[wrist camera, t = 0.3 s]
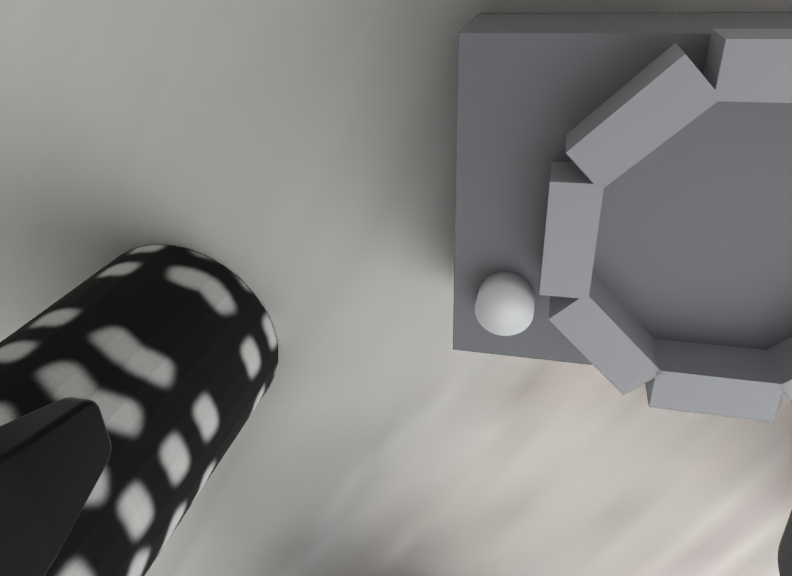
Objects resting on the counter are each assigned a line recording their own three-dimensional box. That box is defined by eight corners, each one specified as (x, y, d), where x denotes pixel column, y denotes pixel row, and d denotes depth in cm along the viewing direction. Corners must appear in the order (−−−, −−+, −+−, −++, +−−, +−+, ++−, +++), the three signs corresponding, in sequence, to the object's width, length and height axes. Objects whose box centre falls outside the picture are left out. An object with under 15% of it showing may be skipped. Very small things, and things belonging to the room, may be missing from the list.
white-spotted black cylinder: (67, 253, 27) (-825, 829, 10) (242, 234, 24) (-546, 967, 7) (142, 411, 30) (-407, 1029, 13) (301, 409, 28) (-125, 1169, 11)
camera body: (921, 329, 20) (1028, 454, 15) (470, 289, 23) (444, 381, 18) (1064, 6, 15) (1280, 41, 11) (479, 9, 18) (448, 37, 14)
